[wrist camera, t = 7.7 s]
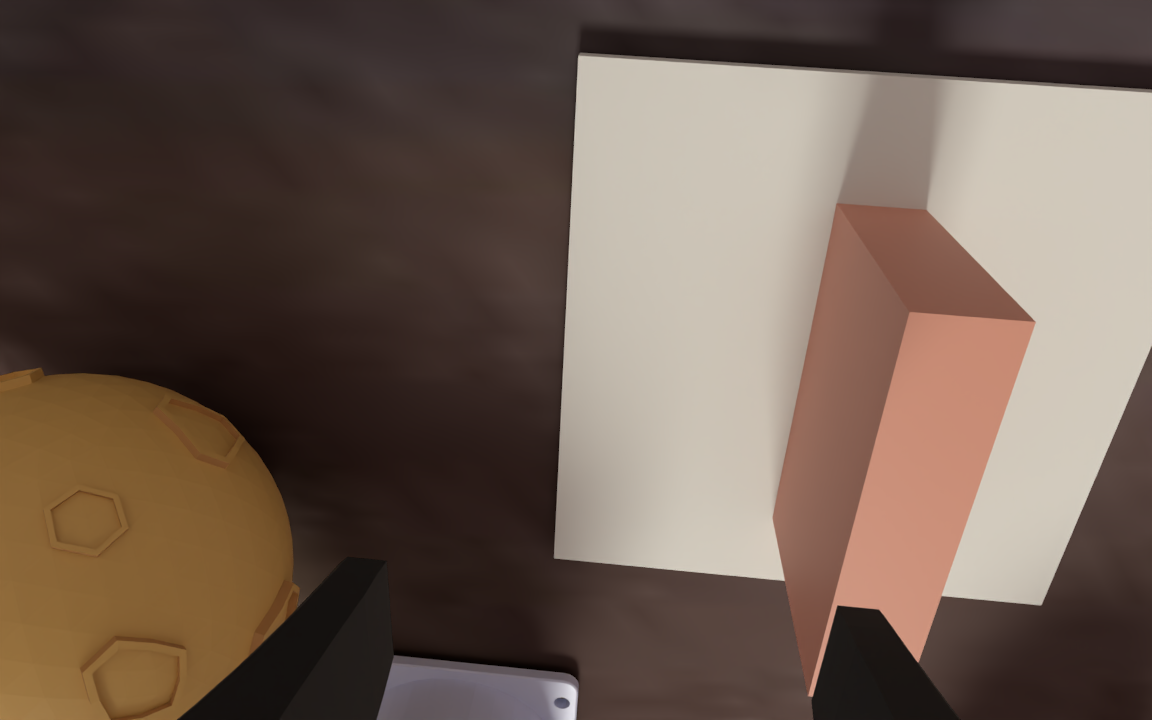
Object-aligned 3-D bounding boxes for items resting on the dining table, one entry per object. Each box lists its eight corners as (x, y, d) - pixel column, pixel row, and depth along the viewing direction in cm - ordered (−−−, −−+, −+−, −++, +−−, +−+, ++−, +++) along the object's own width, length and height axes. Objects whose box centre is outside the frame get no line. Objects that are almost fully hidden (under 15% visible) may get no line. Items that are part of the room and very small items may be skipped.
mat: (1034, 592, 24) (1041, 605, 23) (555, 547, 25) (553, 558, 24) (1240, 95, 17) (1255, 99, 17) (580, 52, 18) (578, 55, 18)
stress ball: (201, 583, 28) (362, 767, 22) (-189, 714, 21) (-121, 1042, 15) (196, 301, 25) (382, 420, 18) (-268, 345, 18) (-224, 560, 11)
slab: (845, 524, 23) (903, 705, 17) (772, 518, 23) (808, 695, 17) (926, 209, 18) (1035, 322, 13) (836, 203, 19) (910, 312, 13)
